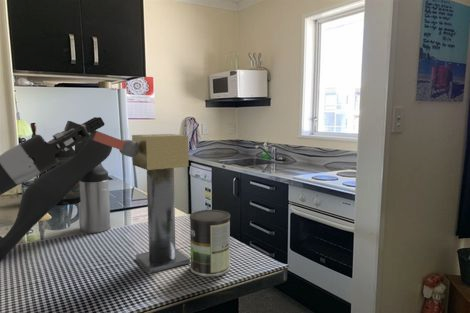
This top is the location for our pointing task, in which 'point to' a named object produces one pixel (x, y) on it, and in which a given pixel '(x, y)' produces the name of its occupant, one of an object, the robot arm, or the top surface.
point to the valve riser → (161, 197)
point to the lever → (109, 141)
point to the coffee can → (210, 242)
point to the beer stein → (74, 193)
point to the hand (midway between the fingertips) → (100, 120)
